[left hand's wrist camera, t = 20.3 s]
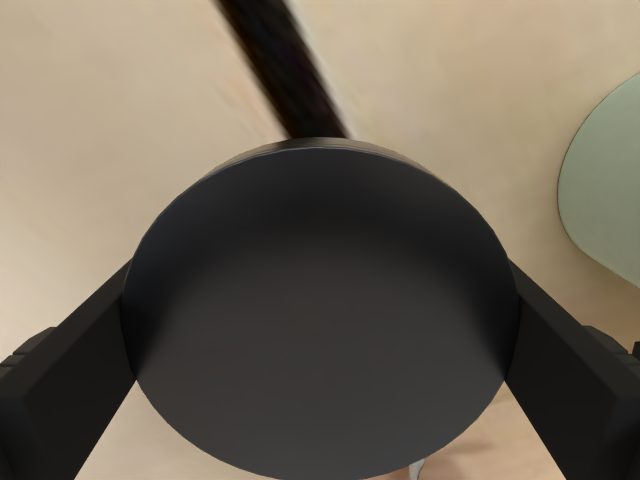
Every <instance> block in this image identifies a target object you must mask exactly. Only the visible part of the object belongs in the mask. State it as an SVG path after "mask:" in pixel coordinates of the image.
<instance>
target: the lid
mask: <svg viewBox="0 0 640 480" xmlns="http://www.w3.org/2000/svg"><path fill="white" fill-rule="evenodd" d="M519 323H520V316H519V296H518V291H517V286H516V281H515V276H514V273H513V270H512V268H511V265H510V262H509V259H508V257H507V254H506V252H505V250H504V248H503V247H502V245H501V243H500V241H499V239H498V238H497V236H496V234H495V232H494V231H493V229H492V228H491V227H490V226H489V224H488V223H487V222H486V221H485V219H484V218H483V217H482V216H481V214H480V213H479V212H478V211H477V210H476V209H475V208H474V207H473V206H472V205H471V204H470V203H469V202H468V201H467V200H466V199H465V198H463V197H462V196H461V195H460V194H459V193H458V192H457V191H456V190H454V189H453V188H452V187H450V186H449V185H448V184H447V183H445V182H444V181H443V180H441V179H440V178H439V177H437V176H436V175H435V174H433V173H432V172H430V171H429V170H427V169H426V168H424V167H423V166H421V165H420V164H418V163H417V162H415V161H413V160H411V159H409V158H407V157H405V156H403V155H400V154H398V153H396V152H394V151H391V150H388V149H385V148H382V147H379V146H376V145H373V144H370V143H365V142H360V141H355V140H349V139H344V138H324V137H312V138H300V139H289V140H285V141H280V142H276V143H272V144H267V145H263V146H260V147H258V148H255V149H252V150H250V151H247V152H244V153H242V154H239V155H237V156H235V157H234V158H232V159H230V160H228V161H226V162H224V163H223V164H221V165H219V166H217V167H216V168H214V169H213V170H212V171H210V172H209V173H208V174H206V175H205V176H204V177H202V178H201V179H200V180H198V181H197V182H196V183H194V184H193V185H192V186H190V187H189V188H188V189H187V190H185V191H184V192H183V193H181V194H180V195H179V196H177V197H176V198H175V199H174V200H173V201H172V202H171V203H170V204H169V205H168V206H167V207H166V209H165V210H164V211H163V212H162V213H161V214H160V215H159V216H158V217H157V218H156V220H155V221H154V222H153V224H152V225H151V226H150V228H149V229H148V231H147V232H146V233H145V235H144V236H143V238H142V240H141V242H140V244H139V246H138V248H137V250H136V252H135V254H134V256H133V257H132V260H131V263H130V266H129V269H128V272H127V275H126V278H125V282H124V288H123V295H122V302H121V329H122V335H123V340H124V344H125V349H126V353H127V357H128V360H129V363H130V366H131V369H132V372H133V374H134V376H135V378H136V380H137V382H138V384H139V386H140V388H141V390H142V391H143V393H144V394H145V395H146V397H147V398H148V400H149V401H150V403H151V404H152V406H153V407H154V408H155V409H156V411H157V412H158V413H159V414H160V415H161V416H162V417H163V419H164V420H165V421H166V422H167V423H168V424H169V425H170V426H171V427H172V428H174V429H175V430H176V431H177V432H178V433H179V434H180V435H181V436H183V437H184V438H185V439H187V440H188V441H189V442H191V443H192V444H194V445H195V446H196V447H198V448H199V449H201V450H202V451H204V452H206V453H208V454H210V455H211V456H213V457H215V458H217V459H218V460H221V461H223V462H225V463H227V464H230V465H232V466H234V467H237V468H239V469H242V470H245V471H248V472H251V473H255V474H258V475H261V476H266V477H270V478H275V479H279V480H360V479H367V478H371V477H375V476H379V475H383V474H387V473H390V472H393V471H395V470H398V469H401V468H404V467H407V466H409V465H411V464H413V463H415V462H418V461H420V460H422V459H424V458H426V457H428V456H430V455H431V454H433V453H435V452H436V451H438V450H440V449H441V448H443V447H444V446H446V445H447V444H449V443H450V442H451V441H453V440H454V439H455V438H456V437H458V436H459V435H460V434H462V433H463V432H464V431H465V430H466V429H467V428H468V427H469V426H470V425H471V424H472V423H473V422H474V421H475V420H476V419H477V418H478V417H479V416H480V415H481V414H482V412H483V411H484V410H485V409H486V407H487V406H488V405H489V404H490V403H491V401H492V400H493V398H494V396H495V395H496V393H497V392H498V390H499V388H500V387H501V385H502V383H503V381H504V379H505V377H506V374H507V372H508V370H509V368H510V365H511V363H512V359H513V355H514V351H515V347H516V342H517V337H518V331H519Z"/></svg>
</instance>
